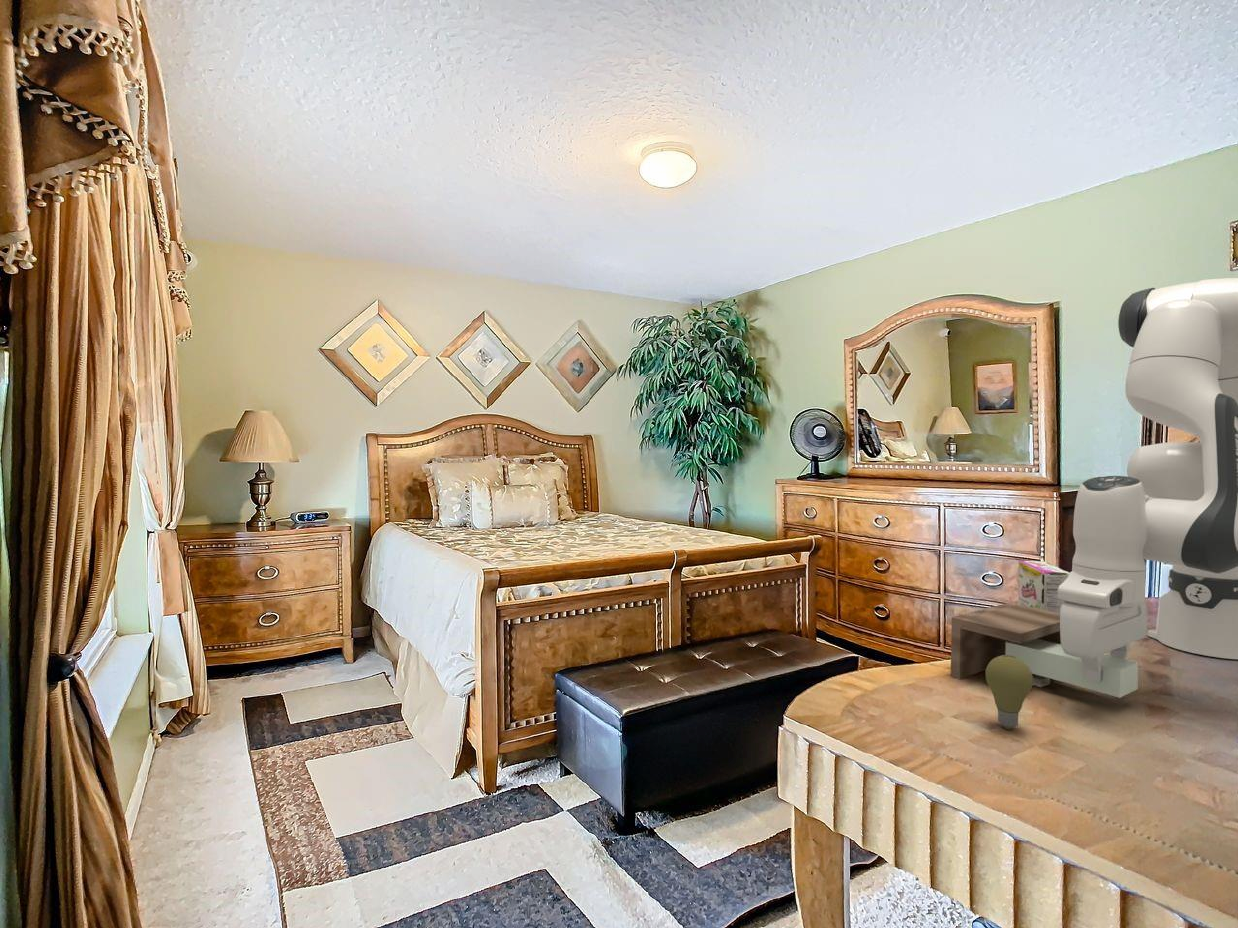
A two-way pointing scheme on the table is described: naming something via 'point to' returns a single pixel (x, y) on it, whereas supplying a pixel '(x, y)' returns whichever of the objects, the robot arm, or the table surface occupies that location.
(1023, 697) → the light bulb
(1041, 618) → the walnut shelf
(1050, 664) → the mint green beam
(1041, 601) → the candy bar box
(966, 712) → the table surface
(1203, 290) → the robot arm
